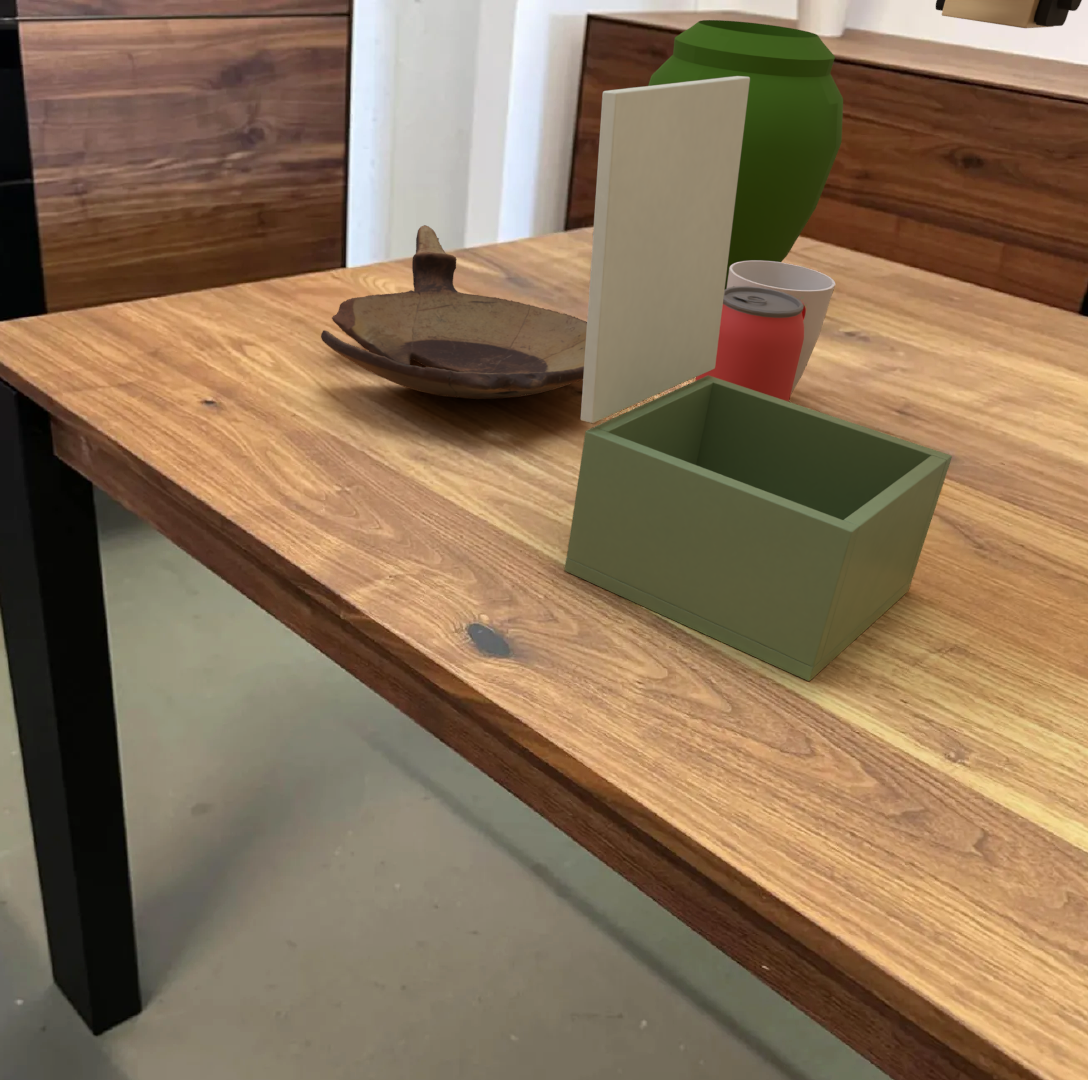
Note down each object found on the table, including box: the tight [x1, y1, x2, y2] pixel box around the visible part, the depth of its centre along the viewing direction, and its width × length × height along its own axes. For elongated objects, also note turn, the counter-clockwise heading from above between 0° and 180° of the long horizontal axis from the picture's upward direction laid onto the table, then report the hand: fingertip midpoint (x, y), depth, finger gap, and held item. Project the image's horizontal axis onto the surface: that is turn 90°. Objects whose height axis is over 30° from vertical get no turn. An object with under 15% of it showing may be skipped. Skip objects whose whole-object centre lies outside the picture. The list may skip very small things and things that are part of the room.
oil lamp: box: [320, 224, 587, 400], centre depth 96 cm, size 22×30×8 cm
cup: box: [727, 261, 836, 394], centre depth 97 cm, size 8×8×10 cm
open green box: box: [564, 375, 953, 682], centre depth 70 cm, size 16×14×9 cm
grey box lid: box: [580, 76, 750, 424], centre depth 67 cm, size 17×14×1 cm
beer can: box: [694, 286, 804, 402], centre depth 84 cm, size 7×7×12 cm
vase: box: [647, 19, 844, 290], centre depth 118 cm, size 20×20×24 cm
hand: (999, 13), depth 64 cm, fingers closed on block, 4 cm apart
